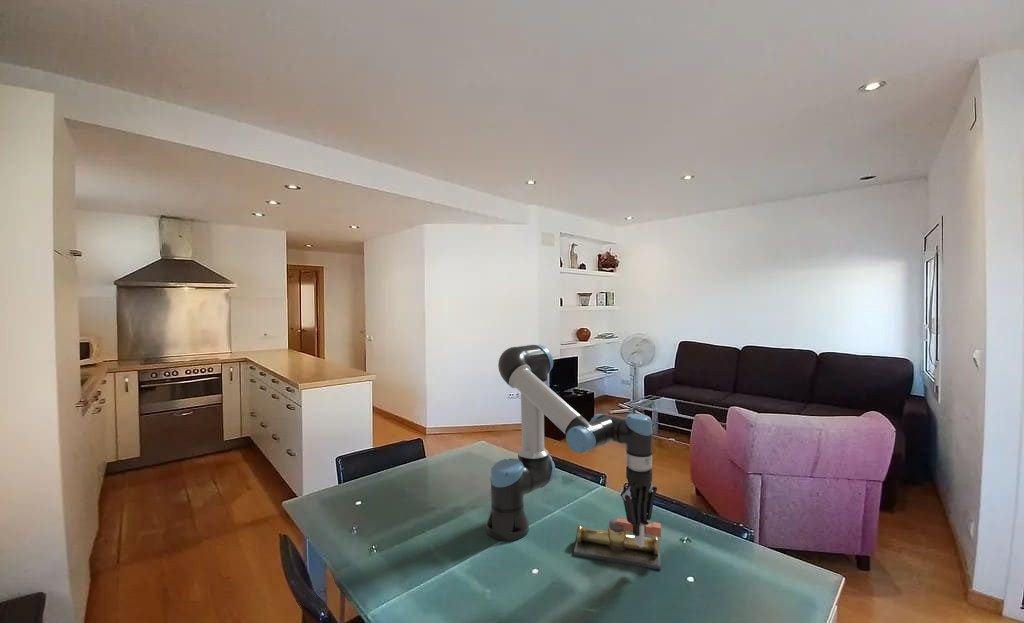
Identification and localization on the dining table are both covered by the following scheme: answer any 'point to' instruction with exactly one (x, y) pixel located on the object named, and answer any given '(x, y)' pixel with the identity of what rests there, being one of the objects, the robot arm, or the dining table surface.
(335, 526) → the dining table surface
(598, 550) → the valve base
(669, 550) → the dining table surface
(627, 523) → the lever
